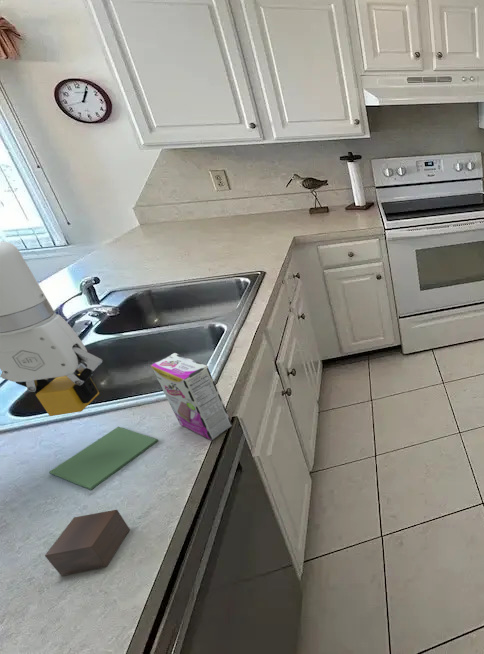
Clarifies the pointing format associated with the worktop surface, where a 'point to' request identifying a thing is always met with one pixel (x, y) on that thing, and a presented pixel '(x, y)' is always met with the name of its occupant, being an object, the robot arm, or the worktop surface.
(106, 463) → the green mat
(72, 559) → the walnut block
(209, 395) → the candy bar box
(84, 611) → the worktop surface
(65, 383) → the mustard block
